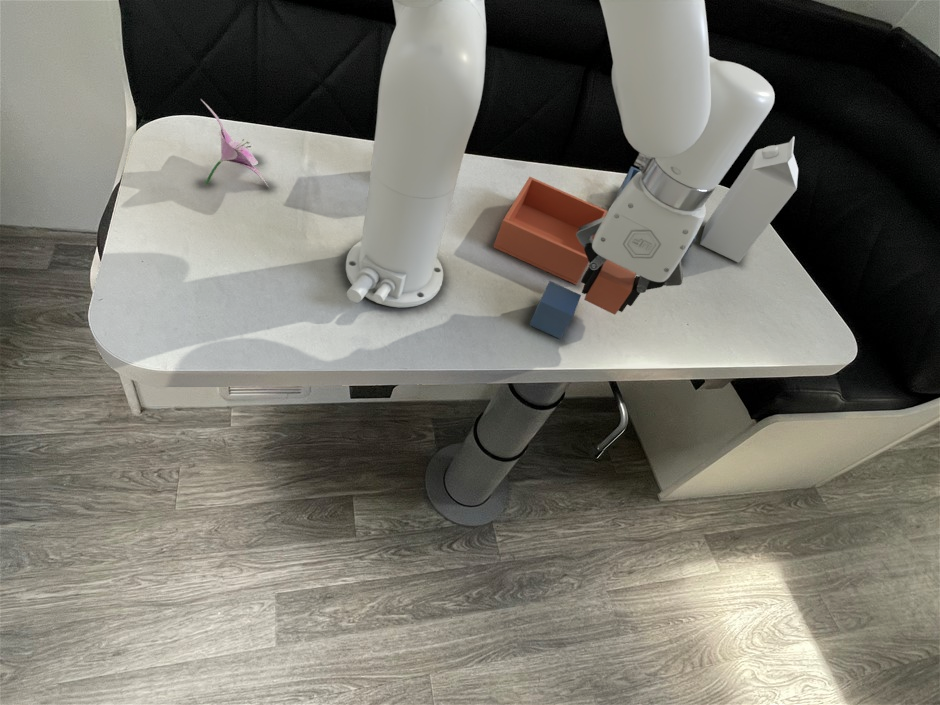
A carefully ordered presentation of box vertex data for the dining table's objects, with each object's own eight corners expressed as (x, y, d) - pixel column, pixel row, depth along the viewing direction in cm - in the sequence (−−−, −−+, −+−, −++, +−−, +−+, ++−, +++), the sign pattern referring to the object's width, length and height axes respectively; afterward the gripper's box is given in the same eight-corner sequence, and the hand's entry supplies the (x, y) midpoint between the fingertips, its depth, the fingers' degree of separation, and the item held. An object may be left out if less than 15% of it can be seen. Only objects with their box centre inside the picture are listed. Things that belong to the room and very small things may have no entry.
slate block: (560, 339, 77) (573, 316, 73) (528, 325, 77) (540, 301, 73) (568, 318, 80) (581, 294, 76) (538, 304, 80) (549, 280, 76)
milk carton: (742, 242, 103) (816, 146, 89) (738, 264, 98) (815, 166, 84) (704, 224, 103) (772, 126, 89) (698, 245, 99) (768, 145, 85)
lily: (257, 223, 78) (289, 160, 74) (163, 180, 72) (193, 109, 69) (261, 193, 87) (289, 136, 84) (178, 152, 82) (205, 89, 78)
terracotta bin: (576, 285, 84) (590, 259, 81) (493, 247, 85) (502, 220, 81) (595, 236, 93) (608, 211, 89) (519, 202, 94) (529, 176, 90)
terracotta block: (615, 315, 77) (631, 291, 73) (583, 300, 77) (598, 275, 74) (621, 294, 80) (637, 271, 76) (591, 280, 80) (605, 256, 77)
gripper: (600, 164, 62) (538, 284, 76) (745, 233, 62) (657, 342, 75) (613, 136, 67) (553, 253, 81) (747, 199, 67) (664, 307, 80)
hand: (604, 295), depth 78 cm, fingers closed on terracotta block, 4 cm apart
